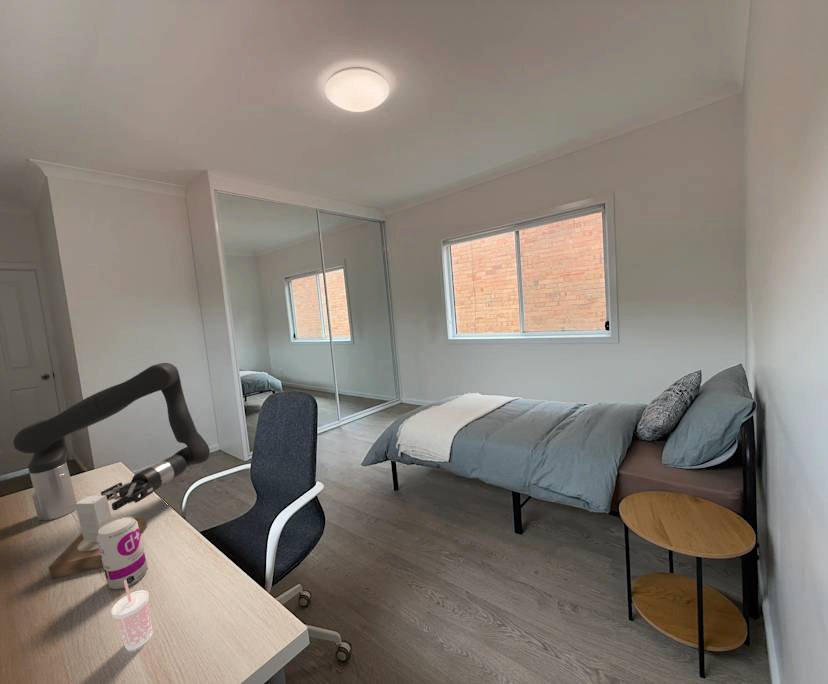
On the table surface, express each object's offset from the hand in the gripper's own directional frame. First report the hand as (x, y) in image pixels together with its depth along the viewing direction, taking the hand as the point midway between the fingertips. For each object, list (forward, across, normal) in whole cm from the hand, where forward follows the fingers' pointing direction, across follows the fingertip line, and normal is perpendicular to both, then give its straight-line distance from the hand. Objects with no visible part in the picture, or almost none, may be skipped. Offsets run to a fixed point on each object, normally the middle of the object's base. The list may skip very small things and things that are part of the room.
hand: (102, 506), depth 108 cm
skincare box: (+2, 0, +9) cm, 9 cm away
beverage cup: (+23, +40, +13) cm, 48 cm away
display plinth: (+2, 0, +12) cm, 13 cm away
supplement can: (+10, +19, +13) cm, 25 cm away
